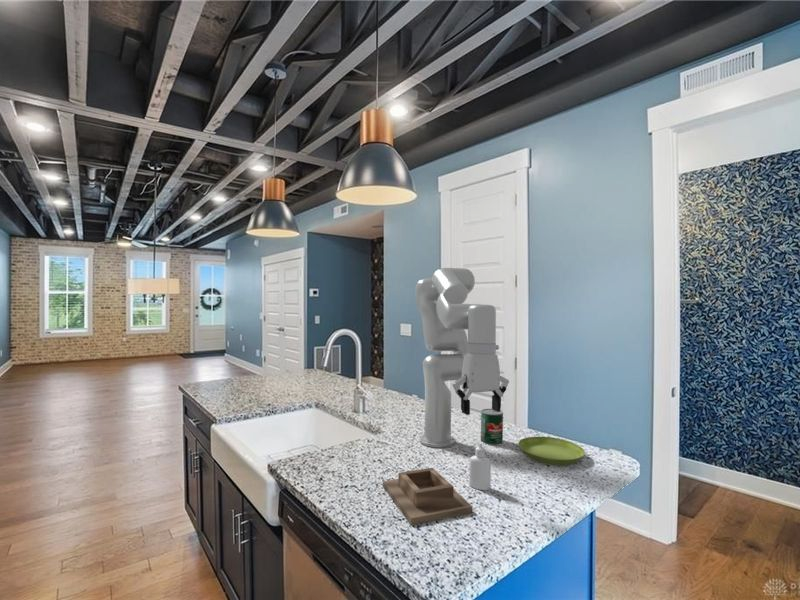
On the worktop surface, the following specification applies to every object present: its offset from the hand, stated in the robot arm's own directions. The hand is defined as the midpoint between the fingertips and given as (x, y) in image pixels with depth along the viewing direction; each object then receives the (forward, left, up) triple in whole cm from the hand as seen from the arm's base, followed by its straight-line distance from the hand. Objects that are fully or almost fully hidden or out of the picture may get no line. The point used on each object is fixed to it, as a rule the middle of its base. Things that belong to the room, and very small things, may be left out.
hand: (481, 412), depth 110 cm
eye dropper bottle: (0, 0, -21) cm, 21 cm away
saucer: (-12, +35, -21) cm, 43 cm away
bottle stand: (+1, -17, -21) cm, 27 cm away
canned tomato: (-30, +24, -21) cm, 44 cm away
